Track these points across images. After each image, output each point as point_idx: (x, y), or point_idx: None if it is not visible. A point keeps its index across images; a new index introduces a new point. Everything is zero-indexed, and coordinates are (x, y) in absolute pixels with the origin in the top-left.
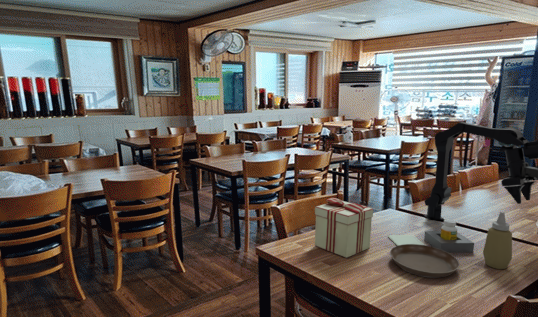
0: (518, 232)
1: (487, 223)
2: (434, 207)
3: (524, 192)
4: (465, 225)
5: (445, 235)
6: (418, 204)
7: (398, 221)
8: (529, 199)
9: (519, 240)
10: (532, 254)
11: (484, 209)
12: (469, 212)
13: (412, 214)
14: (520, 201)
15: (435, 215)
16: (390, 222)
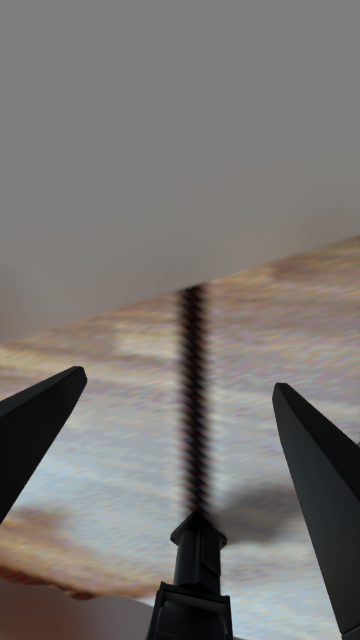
0: (123, 344)
1: (118, 423)
2: (220, 593)
3: (34, 444)
4: (188, 459)
5: None
6: (115, 588)
7: (316, 596)
8: (78, 368)
9: (194, 321)
10: (296, 257)
11: None
12: (65, 479)
13: None
14: (302, 397)
15: (219, 549)
16: None
